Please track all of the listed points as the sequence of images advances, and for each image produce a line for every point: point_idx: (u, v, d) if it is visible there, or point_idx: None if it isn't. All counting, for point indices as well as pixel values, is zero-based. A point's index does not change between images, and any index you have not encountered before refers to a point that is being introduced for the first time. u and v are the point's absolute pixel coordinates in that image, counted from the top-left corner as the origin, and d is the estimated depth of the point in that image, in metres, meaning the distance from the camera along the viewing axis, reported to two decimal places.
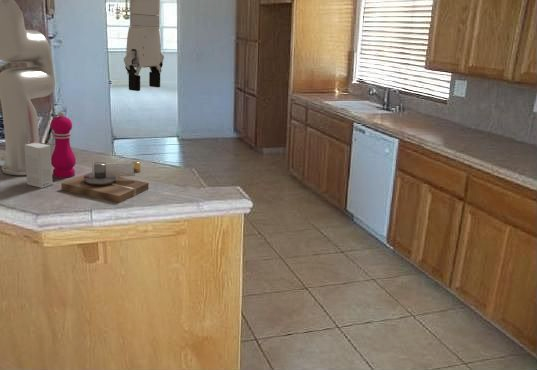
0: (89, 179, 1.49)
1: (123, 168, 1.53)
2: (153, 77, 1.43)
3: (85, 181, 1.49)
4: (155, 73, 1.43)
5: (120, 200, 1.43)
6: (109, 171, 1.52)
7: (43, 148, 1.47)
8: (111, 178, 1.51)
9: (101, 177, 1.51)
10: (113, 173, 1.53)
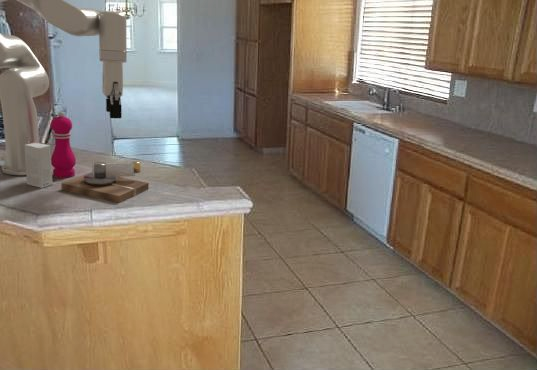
0: (89, 179, 1.49)
1: (123, 168, 1.53)
2: (111, 103, 1.58)
3: (85, 181, 1.49)
4: None
5: (120, 200, 1.43)
6: (109, 171, 1.52)
7: (43, 148, 1.47)
8: (111, 178, 1.51)
9: (101, 177, 1.51)
10: (113, 173, 1.53)
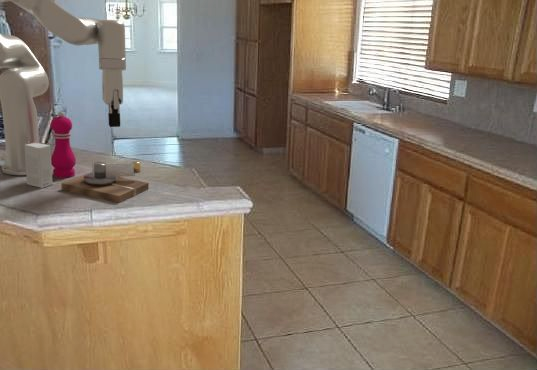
0: (89, 179, 1.49)
1: (123, 168, 1.53)
2: None
3: (85, 181, 1.49)
4: None
5: (120, 200, 1.43)
6: (109, 171, 1.52)
7: (43, 148, 1.47)
8: (111, 178, 1.51)
9: (101, 177, 1.51)
10: (113, 173, 1.53)
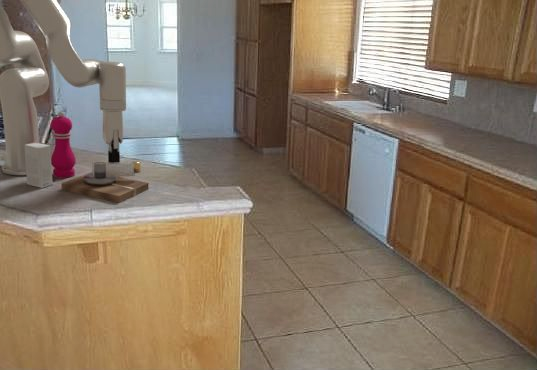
0: (89, 179, 1.49)
1: (123, 168, 1.53)
2: None
3: (85, 181, 1.49)
4: None
5: (120, 200, 1.43)
6: (109, 171, 1.52)
7: (43, 148, 1.47)
8: (111, 178, 1.51)
9: (101, 177, 1.51)
10: (113, 173, 1.53)
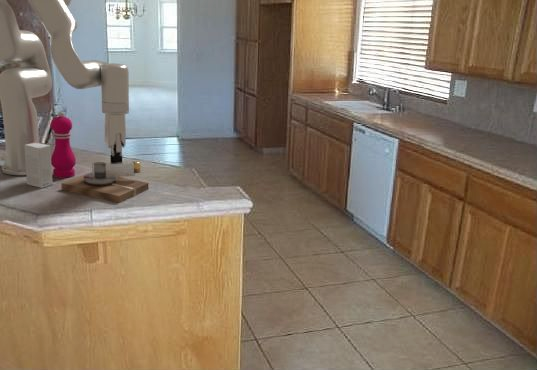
0: (89, 179, 1.49)
1: (123, 168, 1.53)
2: None
3: (85, 181, 1.49)
4: None
5: (120, 200, 1.43)
6: (109, 171, 1.52)
7: (43, 148, 1.47)
8: (111, 178, 1.51)
9: (101, 177, 1.51)
10: (113, 173, 1.53)
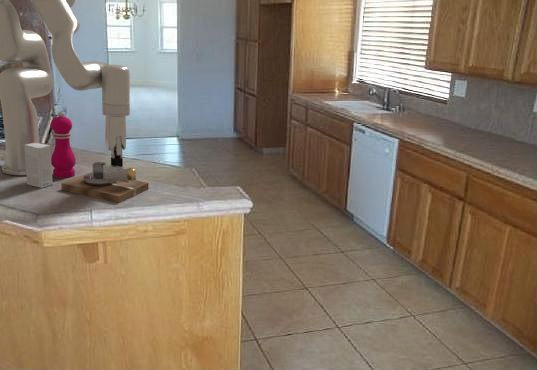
0: (85, 177, 1.51)
1: (118, 172, 1.49)
2: None
3: None
4: None
5: (120, 200, 1.43)
6: (105, 173, 1.50)
7: (43, 148, 1.47)
8: (104, 180, 1.49)
9: (97, 177, 1.50)
10: (109, 176, 1.50)
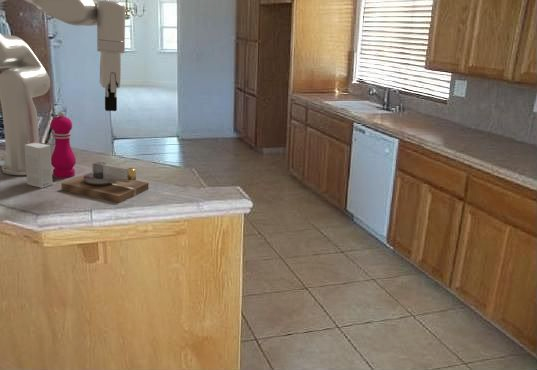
0: (85, 177, 1.51)
1: (118, 172, 1.49)
2: None
3: None
4: None
5: (120, 200, 1.43)
6: (105, 173, 1.50)
7: (43, 148, 1.47)
8: (104, 180, 1.49)
9: (97, 177, 1.50)
10: (109, 176, 1.50)
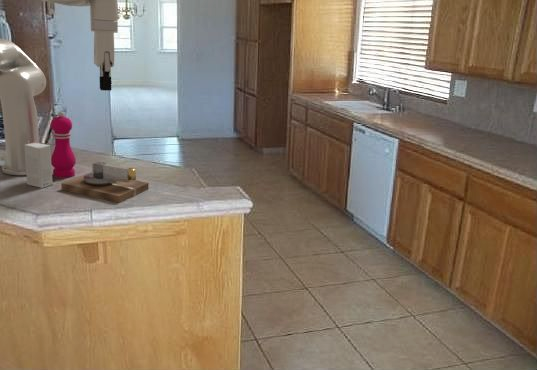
0: (85, 177, 1.51)
1: (118, 172, 1.49)
2: None
3: None
4: None
5: (120, 200, 1.43)
6: (105, 173, 1.50)
7: (43, 148, 1.47)
8: (104, 180, 1.49)
9: (97, 177, 1.50)
10: (109, 176, 1.50)
